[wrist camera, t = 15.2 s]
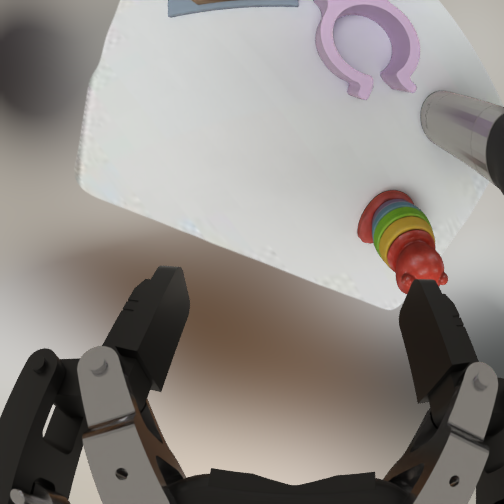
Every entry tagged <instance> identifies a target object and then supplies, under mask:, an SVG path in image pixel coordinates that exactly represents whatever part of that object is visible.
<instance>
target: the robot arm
mask: <svg viewBox="0 0 504 504" xmlns="http://www.w3.org/2000/svg"><path fill="white" fill-rule="evenodd" d="M421 123H422V127H423V130H424V132H425V134H426V136H427V137H428V138H429V139H430V140H431V141H432V142H433V143H434V144H436V145H438V146H439V147H441V148H442V149H444V150H445V151H447V152H449V153H450V154H452V155H453V156H455V157H456V158H458V159H459V160H461V161H462V162H464V163H465V164H467V165H468V166H470V167H471V168H472V169H474V170H475V171H477V172H478V173H479V174H481V175H482V176H483V177H485V178H486V179H488V180H489V181H490V182H491V183H493V184H494V185H495V186H497V187H498V188H499V189H500V190H501V192H502V193H503V195H504V107H502V106H498V105H495V104H492V103H489V102H486V101H482V100H479V99H475V98H472V97H468V96H464V95H460V94H456V93H452V92H447V91H437V92H434V93H432V94H431V95H430V96H428V97H427V99H426V100H425V102H424V104H423V106H422V110H421ZM189 309H190V300H189V295H188V291H187V287H186V283H185V278H184V274H183V270H182V268H181V267H172V266H159V267H158V268H157V270H156V272H155V273H154V275H153V277H152V278H151V280H150V279H145V280H144V281H143V282H141V283H140V284H139V285H138V286H137V287H136V288H135V289H134V290H133V292H132V294H131V295H130V297H129V299H128V302H126V304H125V306H124V307H123V311H121V313H120V314H119V316H118V318H117V320H116V321H115V323H114V325H113V327H112V329H111V331H110V332H109V334H108V336H107V338H106V340H105V342H104V343H103V345H102V346H98V347H94V348H92V349H90V350H88V351H87V352H86V353H84V354H83V356H82V357H81V358H80V359H59V358H58V357H57V356H56V354H55V353H54V352H53V351H52V350H50V349H40V350H38V351H36V352H34V353H33V354H32V355H31V356H30V357H29V358H28V360H27V362H26V364H25V366H24V368H23V369H22V371H21V373H20V375H19V377H18V379H17V382H16V384H15V386H14V388H13V390H12V392H11V394H10V396H9V399H8V401H7V403H6V405H5V408H4V410H3V412H2V415H1V417H0V504H70V502H69V501H68V499H69V495H70V491H71V486H72V482H73V478H74V475H75V471H76V467H77V464H78V461H79V457H80V454H81V450H82V447H83V445H84V449H85V452H86V456H87V459H88V463H89V466H90V469H91V472H92V476H93V479H94V481H95V484H96V487H97V490H98V493H99V495H100V498H101V500H102V502H103V504H468V502H469V500H470V498H471V496H472V494H473V492H474V489H475V487H476V504H504V379H502V378H497V376H496V374H495V372H494V370H493V369H492V368H491V367H490V366H488V365H487V364H485V363H482V362H479V361H478V359H477V356H476V354H475V351H474V348H473V346H472V343H471V341H470V339H469V336H468V334H467V331H466V329H465V327H463V322H462V320H461V318H459V313H458V311H457V309H456V307H455V305H454V303H453V302H452V301H451V300H450V299H449V298H448V297H447V296H446V294H442V293H441V290H440V288H439V286H438V284H437V283H436V281H435V280H433V279H415V280H413V282H412V284H411V286H410V289H409V291H408V294H407V296H406V298H405V301H404V303H403V305H402V308H401V310H400V315H399V326H400V329H401V333H402V337H403V340H404V344H405V348H406V352H407V356H408V360H409V364H410V368H411V373H412V377H413V382H414V386H415V391H416V396H417V401H418V403H425V402H429V403H430V408H429V410H428V411H427V412H426V415H425V416H424V418H423V420H422V422H421V424H420V426H419V428H418V430H417V432H416V434H415V435H414V437H413V439H412V441H411V443H410V444H409V446H408V448H407V450H406V451H405V453H404V454H403V456H402V457H401V458H400V459H399V460H398V461H397V462H396V463H395V464H394V466H393V467H392V468H391V469H390V470H389V472H388V473H387V475H386V476H385V477H384V479H383V480H381V479H377V478H375V472H369V473H361V474H350V475H338V476H333V477H330V478H326V479H322V480H318V481H315V482H310V483H306V484H302V485H288V484H285V483H281V482H277V481H274V480H270V479H267V478H264V477H261V476H258V475H255V474H250V473H241V472H233V471H226V470H219V469H213V468H211V472H210V474H202V475H196V476H192V477H188V478H186V476H185V474H184V472H183V471H182V469H181V467H180V465H179V463H178V461H177V459H176V458H175V456H174V455H173V453H172V452H171V450H170V449H169V447H168V445H167V443H166V441H165V439H164V437H163V435H162V433H161V430H160V428H159V426H158V424H157V421H156V419H155V416H154V414H153V412H152V409H151V407H150V404H149V401H148V399H147V397H148V394H149V391H150V390H155V391H159V392H161V391H162V388H163V385H164V382H165V379H166V376H167V373H168V370H169V368H170V365H171V362H172V359H173V356H174V354H175V350H176V348H177V345H178V342H179V340H180V337H181V334H182V331H183V329H184V326H185V323H186V321H187V318H188V315H189ZM53 404H54V405H55V406H56V407H55V409H54V412H53V415H52V417H51V419H50V422H49V425H48V428H47V430H46V433H45V436H44V438H43V434H42V432H43V428H44V425H45V423H46V420H47V417H48V415H49V412H50V410H51V407H52V405H53Z"/></svg>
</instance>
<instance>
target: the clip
mask: <svg viewBox="0 0 504 504" xmlns="http://www.w3.org/2000/svg"><path fill="white" fill-rule="evenodd" d="M313 1H314V2H315V3H316V4H317V5H318V7H319V8H320V10H321V13H322V18H321V21H320V23H319V25H318V28H317V31H316V47H317V51H318V54H319V56H320V58H321V60H322V61H323V63H324V64H325V65H326V67H327V68H328V69H329V70H330V71H331V72H332V73H334V74H335V75H336V76H338V77H339V78H341V79H343V80H345V81H347V82H348V83H349V87H348V90H347V93H348V94H349V95H351V96H354V97H357V98H360V99H363V100H367V99H368V98H369V96H370V93H371V91H372V89H373V78H372V76H370V75H366V74H364V73H361V72H359V71H357V70H356V69H354V68H353V67H351V66H350V65H349V64H348V63H347V62H346V61H345V60H344V59H343V58H342V57H341V56H340V54H339V52H338V51H337V49H336V46H335V44H334V40H333V26H334V23H335V20H337V19H338V18H340V17H343V16H346V15H360V16H364V17H367V18H369V19H371V20H373V21H375V22H376V23H378V24H379V25H380V26H381V27H382V28H383V29H384V30H385V31H386V33H387V35H388V36H389V38H390V41H391V44H392V57H391V60H390V63H389V64H388V66H387V67H386V68H385V69H384V70H383V71H381V73H380V76H381V77H382V79H383V81H384V82H385V83H386V84H388V85H389V86H390V87H391V88H392V89H395V90H400V91H405V92H410V93H414V92H415V91H416V90H417V86H416V84H415V83H414V82H413V81H412V80H411V78H410V77H411V75H412V73H413V72H414V71H415V69H416V67H417V65H418V62H419V58H420V44H419V39H418V36H417V33H416V31H415V29H414V27H413V25H412V23H411V22H410V20H409V19H408V18H407V17H406V16H405V15H404V14H403V13H402V12H401V11H400V10H399V9H398V8H397V7H395V6H394V5H392V4H391V3H390V2H389V1H388V0H313Z"/></svg>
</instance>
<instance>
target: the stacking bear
mask: <svg viewBox="0 0 504 504" xmlns="http://www.w3.org/2000/svg"><path fill="white" fill-rule="evenodd" d="M358 237H359V238H360V239H361V240H362V241H363V242H364V243H374V246H375V248H376V250H377V252H378V254H379V256H380V257H381V258H382V259H383V261H384V262H385V263H386V264H387V265H388V266H389V267H390V268H391V269H392V270H393V271H394V272H395V273H396V281H397V285H398V287H399V289H400V290H401V291H402V292H403V293H405V294H408V291H409V289H410V286H411V284H412V282H413V280H415V279H433V280H435V281H436V283H437V284H438V286H440V285H445V284H446V283H447V281H448V276H447V275H446V274H445V273H444V264H443V261H442V258H441V257H440V255H439V254H438V253H437V251H436V250H435V238H434V234H433V231H432V227H431V225H430V222H429V220H428V219H427V217H426V216H425V214H424V213H423V212H422V211H421V210H420V209H419V208H418V207H416V206H415V205H414V203H413V201H412V200H411V198H410V197H409V196H408V195H406V194H405V193H403V192H400V191H396V190H391V191H386V192H383V193H381V194H379V195H378V196H376V197H375V198H374V199H373V200H372V201H371V202H370V203H369V205H368V206H367V207H366V209H365V210H364V212H363V214H362V216H361V218H360V221H359V225H358Z"/></svg>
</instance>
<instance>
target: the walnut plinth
mask: <svg viewBox="0 0 504 504" xmlns="http://www.w3.org/2000/svg"><path fill="white" fill-rule="evenodd" d="M191 1H193V2H194V3H196V4H197V5H202V4H209V3H216V2H225V1H236V0H191Z"/></svg>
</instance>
